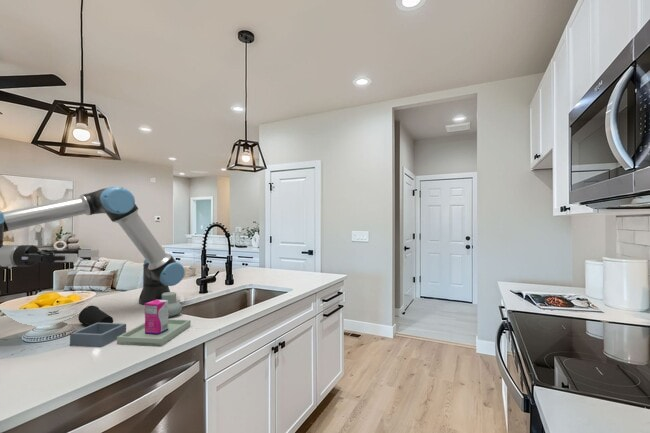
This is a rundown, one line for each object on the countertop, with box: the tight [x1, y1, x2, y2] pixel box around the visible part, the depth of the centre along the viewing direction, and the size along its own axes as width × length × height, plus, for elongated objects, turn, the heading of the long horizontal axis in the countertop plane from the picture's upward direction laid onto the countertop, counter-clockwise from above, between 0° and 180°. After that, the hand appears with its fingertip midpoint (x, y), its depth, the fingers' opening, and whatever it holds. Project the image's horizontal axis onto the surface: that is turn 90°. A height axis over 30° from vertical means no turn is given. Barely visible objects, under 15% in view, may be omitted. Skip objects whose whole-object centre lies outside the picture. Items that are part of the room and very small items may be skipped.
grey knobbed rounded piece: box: [162, 291, 183, 318], centre depth 138 cm, size 11×8×10 cm
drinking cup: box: [77, 305, 114, 326], centre depth 125 cm, size 8×8×20 cm
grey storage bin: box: [69, 322, 127, 348], centre depth 110 cm, size 12×12×4 cm
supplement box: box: [144, 300, 169, 335], centre depth 116 cm, size 6×6×12 cm
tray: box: [116, 318, 192, 347], centre depth 116 cm, size 20×16×2 cm
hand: (88, 255), depth 111 cm, fingers open, 13 cm apart
